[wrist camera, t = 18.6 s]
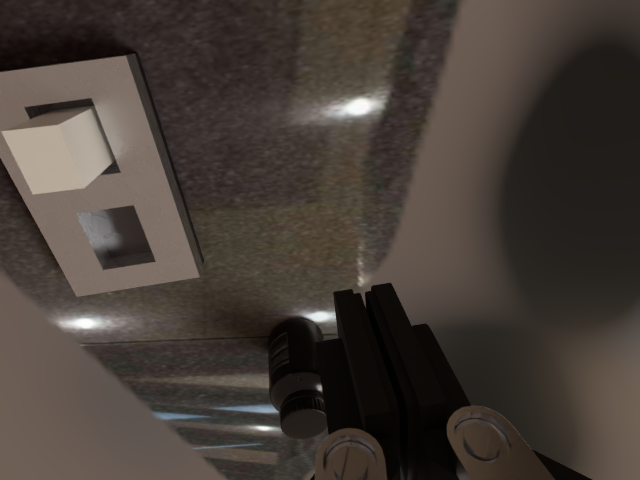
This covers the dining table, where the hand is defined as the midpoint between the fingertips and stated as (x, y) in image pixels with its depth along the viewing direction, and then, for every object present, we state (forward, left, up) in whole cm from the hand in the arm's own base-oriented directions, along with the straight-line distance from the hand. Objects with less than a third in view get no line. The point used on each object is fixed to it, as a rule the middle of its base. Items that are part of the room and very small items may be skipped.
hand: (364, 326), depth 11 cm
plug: (-2, -18, -26) cm, 32 cm away
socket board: (+3, -18, -27) cm, 33 cm away
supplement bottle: (+26, -4, -27) cm, 38 cm away
